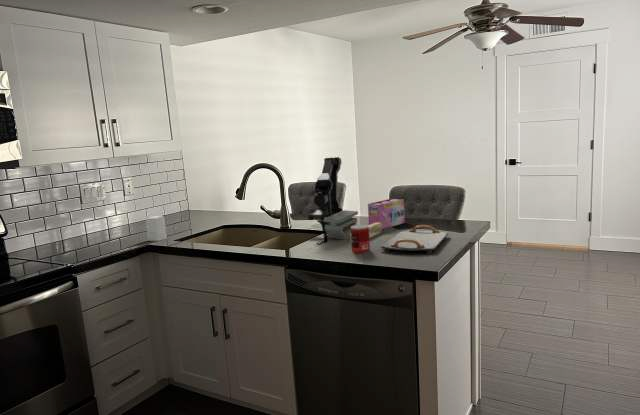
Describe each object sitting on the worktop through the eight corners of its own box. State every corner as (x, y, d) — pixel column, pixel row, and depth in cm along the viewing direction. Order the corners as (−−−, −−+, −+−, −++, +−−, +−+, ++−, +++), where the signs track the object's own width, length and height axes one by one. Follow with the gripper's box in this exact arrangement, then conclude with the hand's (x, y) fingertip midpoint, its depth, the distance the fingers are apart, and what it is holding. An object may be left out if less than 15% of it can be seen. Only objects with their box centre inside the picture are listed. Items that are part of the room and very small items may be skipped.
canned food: (371, 249, 209) (370, 224, 208) (367, 253, 202) (366, 228, 200) (354, 249, 212) (353, 224, 210) (349, 253, 204) (348, 228, 203)
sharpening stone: (343, 230, 253) (343, 210, 252) (357, 231, 250) (357, 211, 248) (323, 240, 231) (323, 218, 229) (338, 242, 228) (339, 219, 226)
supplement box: (167, 238, 268) (164, 215, 266) (157, 241, 261) (155, 218, 260) (157, 237, 271) (154, 215, 269) (147, 240, 264) (144, 218, 263)
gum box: (395, 221, 273) (394, 197, 271) (407, 222, 267) (406, 198, 266) (368, 228, 257) (367, 203, 255) (380, 230, 251) (378, 204, 249)
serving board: (433, 257, 191) (432, 242, 190) (377, 254, 201) (377, 240, 200) (450, 237, 226) (450, 224, 225) (402, 235, 235) (401, 223, 235)
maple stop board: (350, 244, 222) (349, 233, 221) (376, 231, 247) (375, 222, 246) (356, 244, 220) (355, 234, 219) (381, 231, 246) (381, 222, 245)
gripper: (300, 205, 240) (303, 236, 242) (333, 206, 231) (335, 237, 233) (312, 202, 250) (314, 231, 252) (344, 202, 240) (346, 233, 242)
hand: (326, 233), depth 245 cm, fingers closed
